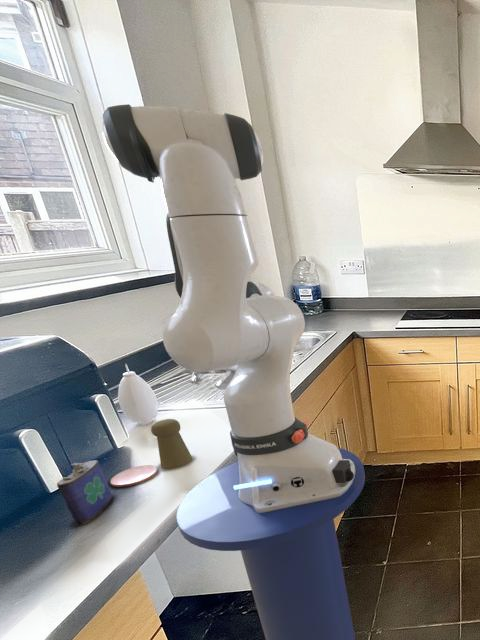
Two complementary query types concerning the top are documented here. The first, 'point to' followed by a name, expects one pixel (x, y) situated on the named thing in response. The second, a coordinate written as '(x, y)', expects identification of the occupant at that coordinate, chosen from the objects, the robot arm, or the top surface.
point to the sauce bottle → (137, 398)
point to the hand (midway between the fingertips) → (206, 386)
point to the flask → (85, 491)
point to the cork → (170, 444)
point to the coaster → (133, 476)
